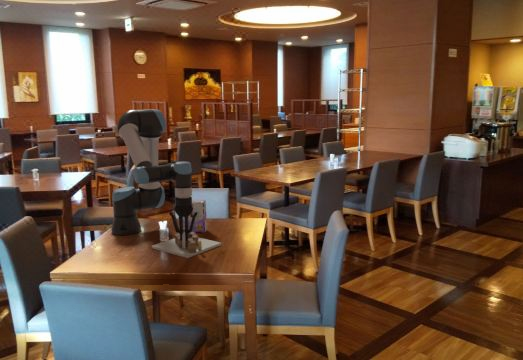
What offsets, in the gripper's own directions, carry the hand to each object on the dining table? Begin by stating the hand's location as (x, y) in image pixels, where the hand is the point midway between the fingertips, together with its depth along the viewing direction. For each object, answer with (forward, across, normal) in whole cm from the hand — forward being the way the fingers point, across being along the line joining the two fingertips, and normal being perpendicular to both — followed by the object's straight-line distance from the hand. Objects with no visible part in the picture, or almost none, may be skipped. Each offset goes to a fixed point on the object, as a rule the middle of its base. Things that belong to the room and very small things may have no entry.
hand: (184, 247), depth 211 cm
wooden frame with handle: (+1, +1, +4) cm, 4 cm away
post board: (+2, 0, +8) cm, 8 cm away
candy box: (+3, -1, +34) cm, 34 cm away
